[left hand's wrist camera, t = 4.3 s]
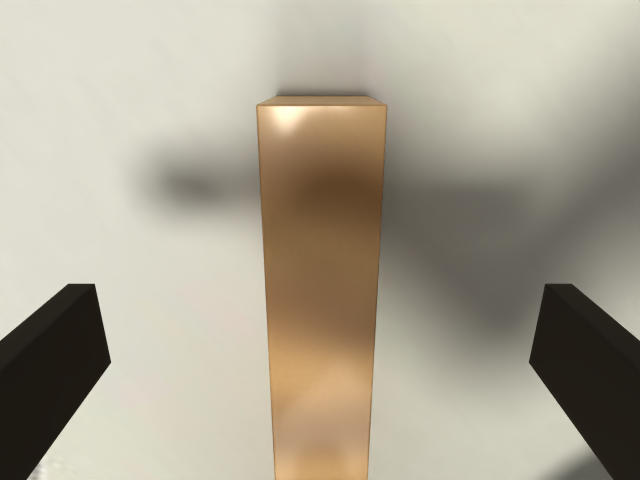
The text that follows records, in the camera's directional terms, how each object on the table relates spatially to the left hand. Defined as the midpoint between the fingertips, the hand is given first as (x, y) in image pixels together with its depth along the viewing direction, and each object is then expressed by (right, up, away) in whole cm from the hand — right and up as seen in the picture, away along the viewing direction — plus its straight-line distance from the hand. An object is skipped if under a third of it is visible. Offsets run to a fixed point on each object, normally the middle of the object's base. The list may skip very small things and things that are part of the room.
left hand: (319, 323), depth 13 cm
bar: (0, -17, +21) cm, 27 cm away
